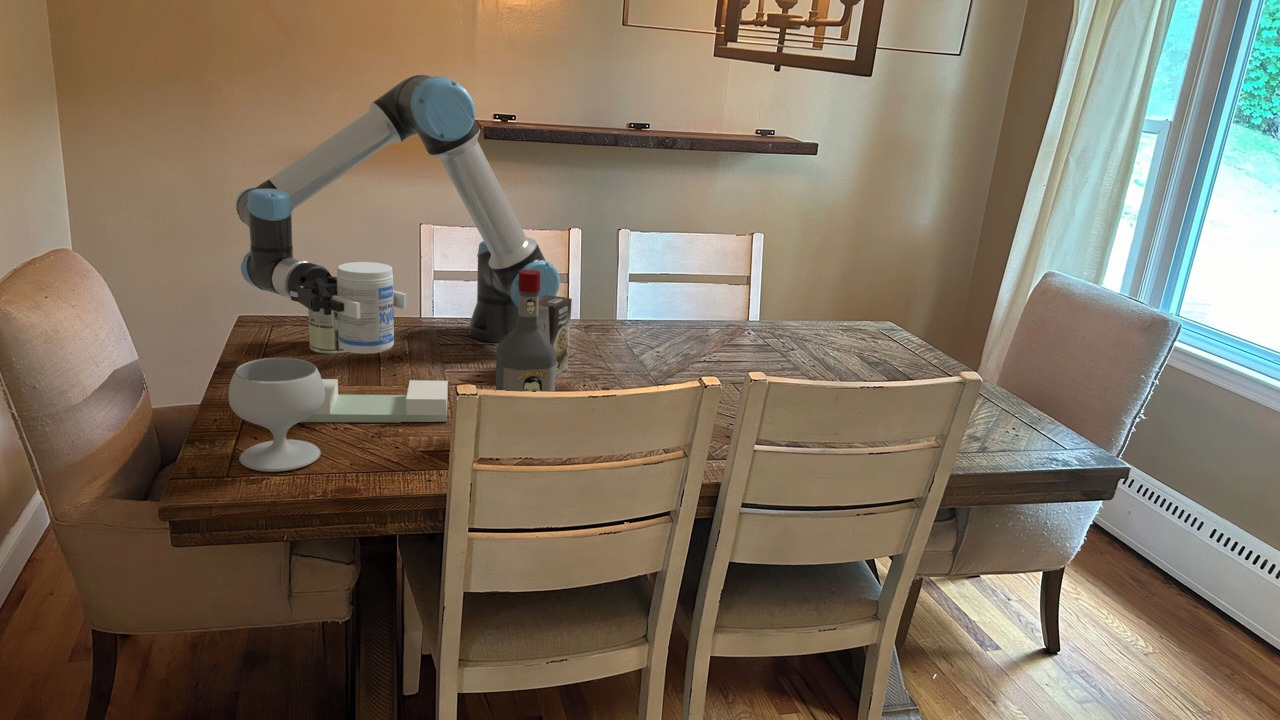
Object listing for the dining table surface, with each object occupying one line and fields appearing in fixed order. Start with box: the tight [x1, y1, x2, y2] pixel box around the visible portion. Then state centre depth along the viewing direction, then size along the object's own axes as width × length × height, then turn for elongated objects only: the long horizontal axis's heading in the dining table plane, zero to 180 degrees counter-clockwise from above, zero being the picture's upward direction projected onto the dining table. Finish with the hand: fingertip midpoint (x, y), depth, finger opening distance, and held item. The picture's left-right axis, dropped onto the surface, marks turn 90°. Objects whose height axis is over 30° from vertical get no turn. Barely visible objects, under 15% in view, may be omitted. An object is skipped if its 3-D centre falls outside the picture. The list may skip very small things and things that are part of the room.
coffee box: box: [538, 295, 573, 377], centre depth 191 cm, size 9×6×16 cm
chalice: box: [227, 357, 325, 473], centre depth 141 cm, size 14×14×15 cm
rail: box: [300, 378, 449, 423], centre depth 163 cm, size 27×10×4 cm, turn 100°
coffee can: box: [307, 308, 349, 355], centre depth 196 cm, size 10×10×14 cm
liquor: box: [495, 270, 557, 392], centre depth 154 cm, size 9×9×30 cm
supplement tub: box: [336, 261, 395, 355], centre depth 158 cm, size 10×10×15 cm
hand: (382, 306), depth 156 cm, fingers closed on supplement tub, 9 cm apart
